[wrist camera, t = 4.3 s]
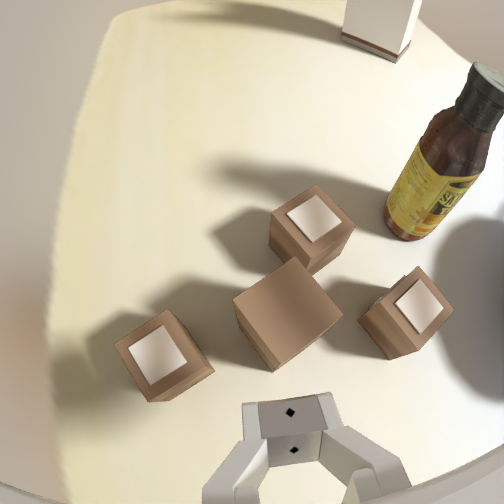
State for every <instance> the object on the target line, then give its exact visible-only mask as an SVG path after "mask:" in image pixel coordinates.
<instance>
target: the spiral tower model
mask: <svg viewBox="0 0 504 504" xmlns="http://www.w3.org/2000/svg"><path fill="white" fill-rule="evenodd" d="M421 3H422V0H347V5H346V11H345V17H344V23H343V29H342V34H341V40H342V41H345V42H347V43H350V44H352V45H355V46H357V47H360V48H362V49H364V50H367V51H369V52H371V53H374V54H376V55H378V56H380V57H383V58H385V59H387V60H389V61H391V62H393V63H395V64H396V63H397V61H398V60H399V59H400V58H401V56H402V55H403V54H404V53H405V52H406V50H407V49H408V48H409V45H410V42H411V36H412V33H413V30H414V27H415V23H416V20H417V17H418V13H419V10H420V6H421Z"/></svg>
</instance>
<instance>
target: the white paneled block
mask: <svg viewBox="0 0 504 504" xmlns="http://www.w3.org/2000/svg"><path fill="white" fill-rule="evenodd" d="M368 309H369V310H368V311H367V312H366V313H365V314H364V315H363V316H362V317H360V318H359V319H358V322H359V323H360V324H361V325H362V327H363V328H364V329H365V330H366V332H367V333H368V334H369V335H370V337H371V338H372V339H373V340H374V341H375V343H376V344H377V345H378V346H379V348H380V349H381V350H382V351H383V353H384V354H385V355H386V357H387V358H388V359H389V360H392V359H395V358H398V357H401V356H404V355H407V354H410V353H413V352H416V351H419V350H420V349H421V348H422V347H423V346H424V344H425V343H426V342H427V341H428V340H429V339H430V338H431V337H432V336H433V334H434V333H435V332H436V331H437V330H438V329H439V328H440V327H441V325H442V324H443V323H444V322H445V321H446V319H447V318H448V317H449V316H450V315H451V314H452V312H453V311H454V309H453V308H452V306H451V305H450V304H449V302H448V301H447V300H446V299H445V297H444V296H443V295H442V294H441V292H440V291H439V290H438V289H437V287H436V286H435V285H434V284H433V282H432V281H431V280H430V279H429V278H428V276H427V275H426V274H425V273H424V272H423V270H422V269H421V268H420V267H419V266H417V267H416V268H415V269H414V270H413V271H412V272H411V273H409V274H408V275H407V276H405V275H404V276H403V277H402V278H401V279H400V280H399V281H398V282H397V283H395V284H394V285H393V286H392V287H391V288H390V289H389V290H388V291H387V292H386V293H385V294H383V295H382V296H381V297H380V298H379V299H378V300H377V301H376V302H375V303H373V304H372V305H371V306H370V307H369V308H368Z"/></svg>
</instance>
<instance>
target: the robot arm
mask: <svg viewBox="0 0 504 504" xmlns="http://www.w3.org/2000/svg"><path fill="white" fill-rule="evenodd" d="M258 412H259V413H258ZM242 421H243V438H244V440H243V441H239V442H238V443H237V444H236V446H235V447H234V448H233V450H232V451H231V452H230V454H229V455H228V456H227V458H226V459H225V460H224V462H223V463H222V464H221V465H220V467H219V468H218V469H217V470H216V472H215V473H214V474H213V476H212V477H211V478H210V479H209V480H208V482H207V483H206V484H205V485H204V487H203V488H202V504H260V498H259V492H258V490H257V489H258V488H259V486H260V484H261V482H262V481H263V479H264V477H265V475H266V473H267V472H268V470H269V468H270V467H277V466H284V465H290V464H297V463H305V462H312V461H319V462H320V463H321V464H322V465H323V466H324V467H325V468H326V469H327V470H328V471H330V472H331V473H332V474H333V475H334V476H335V477H336V478H337V479H339V480H340V481H341V482H342V483H343V484H344V485H345V486H347V487H348V488H347V490H346V493H345V496H344V498H343V501H342V504H504V444H502V445H500V446H499V447H497V448H495V449H493V450H492V451H490V452H488V453H486V454H484V455H482V456H480V457H479V458H477V459H475V460H473V461H471V462H469V463H467V464H465V465H462V466H460V467H458V468H456V469H454V470H452V471H449V472H447V473H445V474H443V475H440V476H438V477H435V478H433V479H431V480H428V481H426V482H423V483H420V484H418V485H415V486H412V485H411V483H410V481H409V478H408V476H407V474H406V472H405V469H404V467H403V465H402V463H401V460H400V458H399V457H397V456H396V455H394V454H392V453H391V452H389V451H387V450H386V449H384V448H382V447H381V446H379V445H378V444H376V443H375V442H373V441H371V440H370V439H368V438H367V437H365V436H364V435H362V434H360V433H359V432H357V431H356V430H354V429H353V428H351V427H350V426H344V425H343V422H342V419H341V417H340V414H339V411H338V408H337V406H336V403H335V400H334V398H333V395H332V393H331V392H327V393H321V394H316V395H315V394H314V395H308V396H302V397H295V398H289V399H283V400H272V401H260V402H258V404H257V402H250V403H242ZM0 504H65V503H61V502H57V501H54V500H51V499H47V498H44V497H41V496H38V495H35V494H31V493H29V492H26V491H23V490H20V489H17V488H15V487H12V486H9V485H7V484H4V483H2V482H0Z"/></svg>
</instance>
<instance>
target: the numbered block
mask: <svg viewBox="0 0 504 504" xmlns="http://www.w3.org/2000/svg"><path fill="white" fill-rule="evenodd" d="M114 345H115V347H116V349H117V350H118V352H119V354H120V356H121V358H122V360H123V361H124V363H125V365H126V367H127V368H128V370H129V372H130V374H131V375H132V377H133V379H134V380H135V382H136V384H137V385H138V387H139V389H140V390H141V392H142V394H143V395H144V397H145V398H146V400H147V402H161V401H170V400H172V399H173V398H175V397H176V396H178V395H180V394H181V393H183V392H184V391H186V390H187V389H189V388H191V387H192V386H194V385H195V384H197V383H198V382H200V381H201V380H203V379H204V378H206V377H207V376H209V375H211V374H212V373H214V372H215V370H214V369H213V367H212V366H211V365H210V363H209V362H208V360H207V359H206V357H205V356H204V354H203V353H202V352H201V350H200V349H199V347H198V346H197V344H196V343H195V341H194V340H193V338H192V337H191V335H190V334H189V332H188V331H187V329H186V328H185V326H184V325H183V324H182V323H181V322H180V321H179V320H178V319H177V318H176V317H175V316H174V315H173V314H172V313H171V312H170V311H169V310H168V309H167V310H165V311H164V312H162V313H161V314H159V315H158V316H156V317H155V318H153V319H152V320H150V321H149V322H147V323H146V324H144V325H143V326H141V327H140V328H138V329H137V330H135V331H134V332H132V333H131V334H129V335H128V336H126V337H125V338H123V339H122V340H120V341H119V342H117V343H116V344H114Z"/></svg>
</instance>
